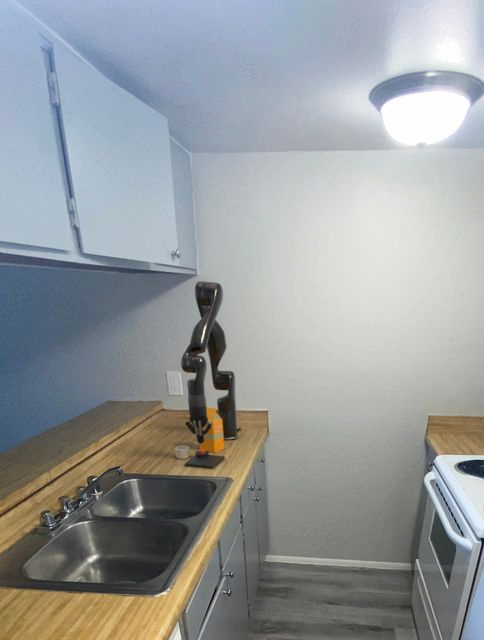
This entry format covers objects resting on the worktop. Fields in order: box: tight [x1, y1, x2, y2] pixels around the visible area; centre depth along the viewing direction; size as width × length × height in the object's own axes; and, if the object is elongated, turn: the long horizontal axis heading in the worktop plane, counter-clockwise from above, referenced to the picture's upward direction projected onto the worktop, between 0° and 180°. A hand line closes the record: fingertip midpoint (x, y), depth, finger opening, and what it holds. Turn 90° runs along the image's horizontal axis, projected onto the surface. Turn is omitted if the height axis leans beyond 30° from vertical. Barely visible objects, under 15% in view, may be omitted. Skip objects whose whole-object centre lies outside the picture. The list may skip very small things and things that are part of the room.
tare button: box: [197, 448, 205, 454], centre depth 214 cm, size 3×3×2 cm
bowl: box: [174, 445, 191, 460], centre depth 216 cm, size 6×6×4 cm
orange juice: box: [199, 406, 225, 453], centre depth 224 cm, size 8×9×20 cm
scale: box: [184, 450, 226, 470], centre depth 211 cm, size 14×13×3 cm
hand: (200, 443), depth 212 cm, fingers closed
